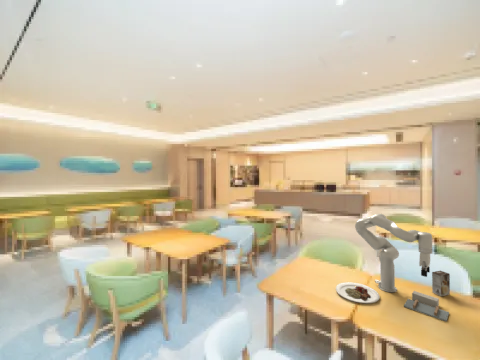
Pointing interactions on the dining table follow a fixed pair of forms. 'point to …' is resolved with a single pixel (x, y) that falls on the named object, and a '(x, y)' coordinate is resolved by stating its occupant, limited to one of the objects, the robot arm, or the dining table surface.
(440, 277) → the coffee box
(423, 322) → the dining table surface
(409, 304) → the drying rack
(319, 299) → the dining table surface
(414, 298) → the light grey block
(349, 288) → the plated food
